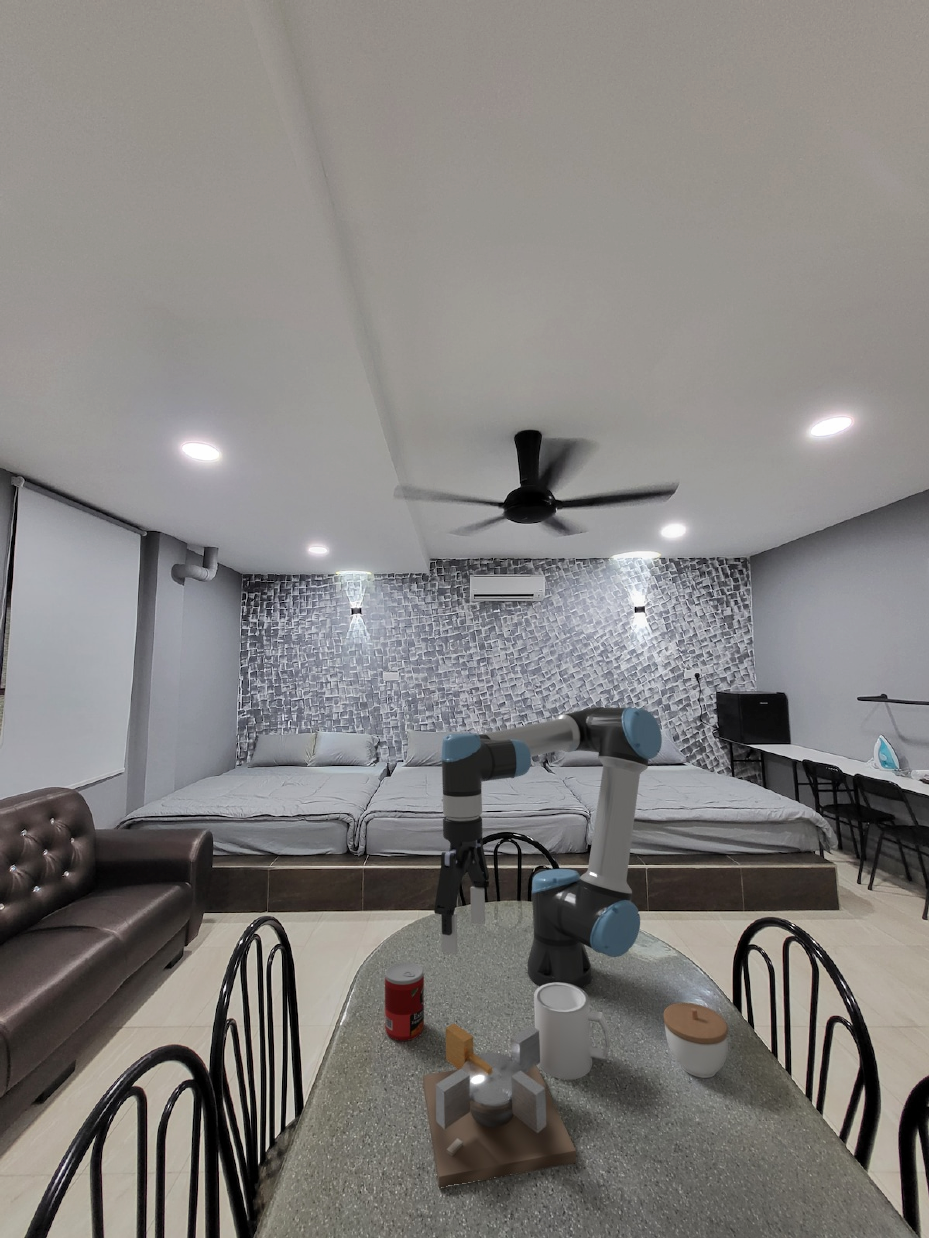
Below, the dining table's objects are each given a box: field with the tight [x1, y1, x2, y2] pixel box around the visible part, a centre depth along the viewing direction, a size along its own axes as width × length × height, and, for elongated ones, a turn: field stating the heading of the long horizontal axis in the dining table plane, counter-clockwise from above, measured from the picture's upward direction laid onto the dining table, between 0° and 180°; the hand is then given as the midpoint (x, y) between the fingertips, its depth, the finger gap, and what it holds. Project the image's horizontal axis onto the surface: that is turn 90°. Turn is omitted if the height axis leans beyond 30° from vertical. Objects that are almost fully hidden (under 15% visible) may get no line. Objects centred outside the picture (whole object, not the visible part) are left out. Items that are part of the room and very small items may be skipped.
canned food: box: [384, 961, 425, 1042], centre depth 109 cm, size 8×8×11 cm
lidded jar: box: [663, 1002, 729, 1079], centre depth 97 cm, size 11×11×9 cm
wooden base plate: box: [422, 1065, 577, 1189], centre depth 85 cm, size 20×20×4 cm
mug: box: [533, 982, 611, 1081], centre depth 98 cm, size 14×10×11 cm
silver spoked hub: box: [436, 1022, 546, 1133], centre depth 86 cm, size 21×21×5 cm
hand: (464, 936), depth 99 cm, fingers open, 12 cm apart
